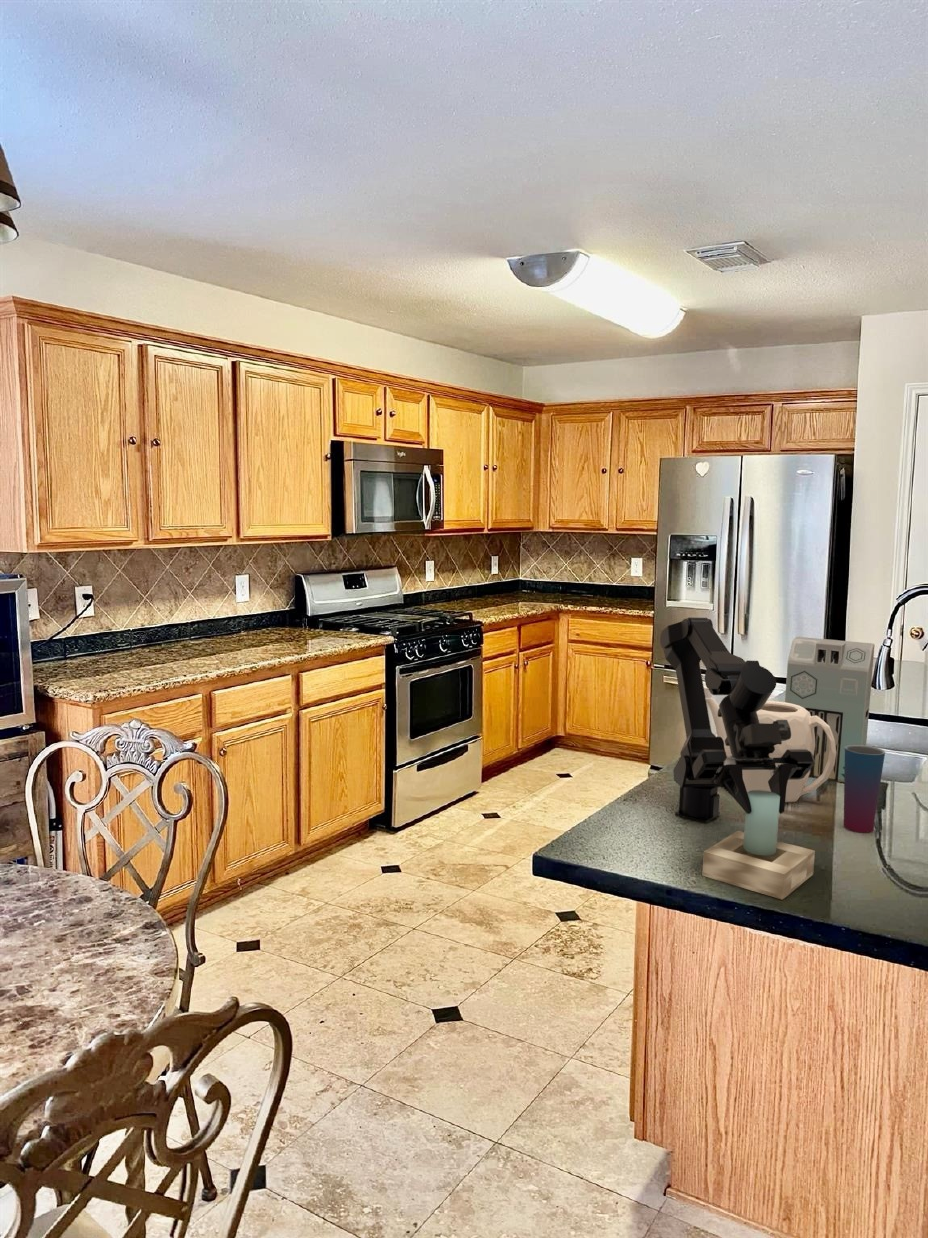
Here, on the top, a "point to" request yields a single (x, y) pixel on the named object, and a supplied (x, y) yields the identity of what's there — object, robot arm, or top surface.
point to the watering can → (784, 744)
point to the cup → (861, 786)
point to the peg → (762, 823)
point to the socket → (758, 866)
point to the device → (832, 693)
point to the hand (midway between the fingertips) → (765, 812)
